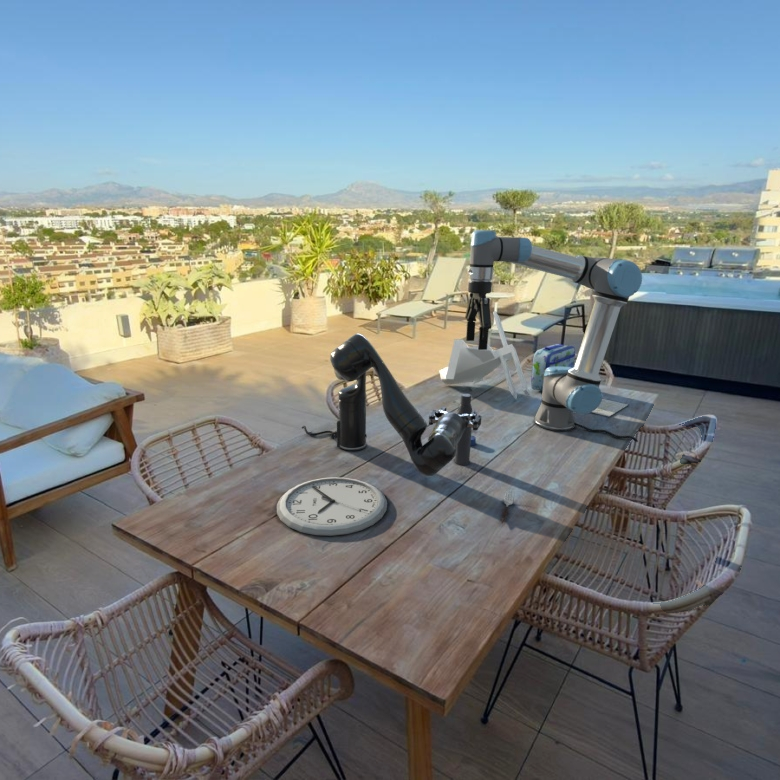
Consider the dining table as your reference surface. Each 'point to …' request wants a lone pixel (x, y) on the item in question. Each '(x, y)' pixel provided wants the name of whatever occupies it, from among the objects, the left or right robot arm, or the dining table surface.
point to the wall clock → (331, 506)
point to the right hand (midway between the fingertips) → (476, 345)
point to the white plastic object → (482, 362)
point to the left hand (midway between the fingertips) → (459, 411)
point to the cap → (473, 440)
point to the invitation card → (608, 407)
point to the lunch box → (550, 362)
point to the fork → (507, 502)
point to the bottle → (464, 433)
